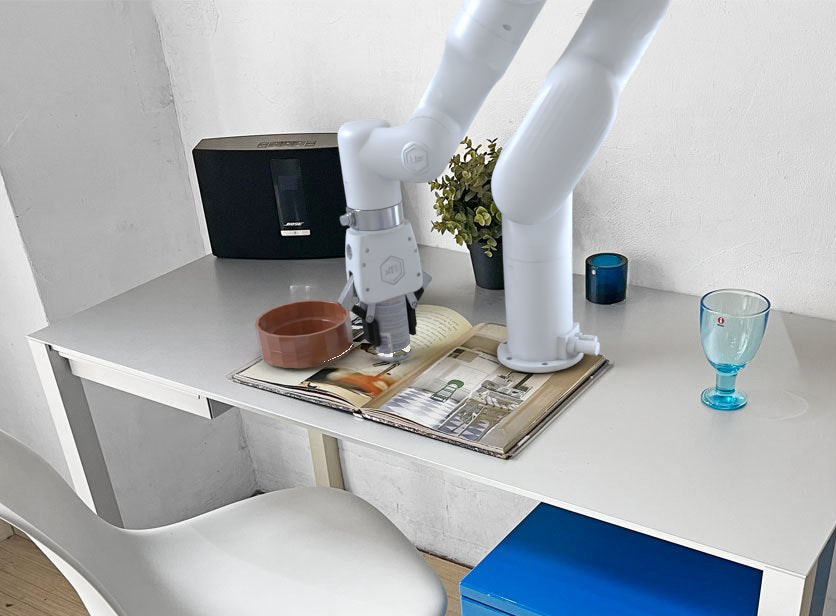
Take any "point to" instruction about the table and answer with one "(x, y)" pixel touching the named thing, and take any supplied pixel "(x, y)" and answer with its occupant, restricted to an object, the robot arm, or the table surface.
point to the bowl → (304, 333)
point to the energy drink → (392, 328)
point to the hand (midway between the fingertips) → (391, 337)
